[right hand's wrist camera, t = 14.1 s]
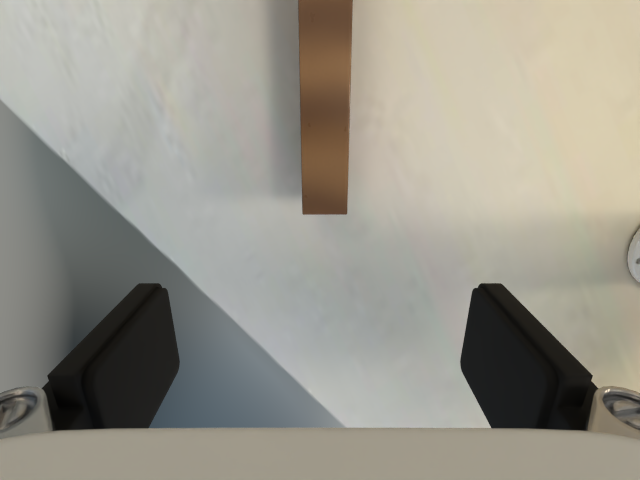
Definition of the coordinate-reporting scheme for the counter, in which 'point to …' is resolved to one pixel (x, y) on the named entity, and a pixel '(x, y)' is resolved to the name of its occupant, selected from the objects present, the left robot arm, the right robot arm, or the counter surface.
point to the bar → (325, 103)
